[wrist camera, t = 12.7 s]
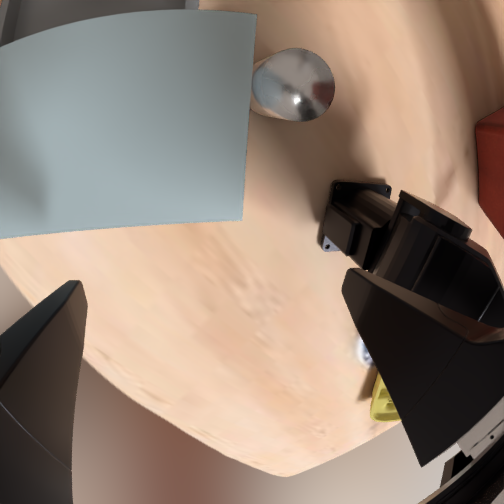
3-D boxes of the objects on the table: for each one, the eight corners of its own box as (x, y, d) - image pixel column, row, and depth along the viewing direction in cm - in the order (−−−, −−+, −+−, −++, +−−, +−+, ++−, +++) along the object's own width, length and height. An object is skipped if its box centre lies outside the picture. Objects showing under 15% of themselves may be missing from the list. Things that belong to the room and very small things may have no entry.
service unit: (224, 51, 15) (271, 5, 7) (217, 173, 20) (253, 231, 11) (22, 75, 12) (-65, 74, 3) (28, 190, 16) (-45, 254, 8)
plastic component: (385, 365, 37) (442, 359, 34) (379, 331, 43) (431, 327, 41) (365, 423, 46) (410, 419, 43) (364, 395, 52) (406, 391, 50)
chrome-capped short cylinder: (302, 64, 17) (337, 56, 13) (297, 119, 19) (330, 125, 15) (243, 56, 16) (264, 42, 12) (238, 114, 18) (258, 118, 14)
